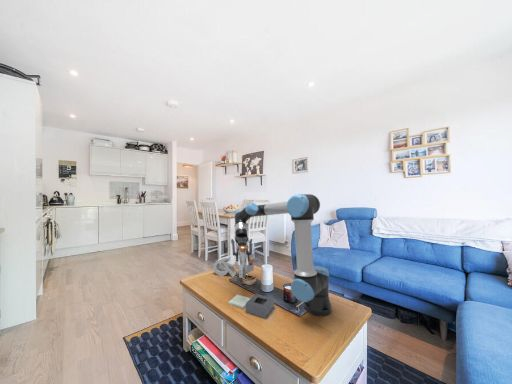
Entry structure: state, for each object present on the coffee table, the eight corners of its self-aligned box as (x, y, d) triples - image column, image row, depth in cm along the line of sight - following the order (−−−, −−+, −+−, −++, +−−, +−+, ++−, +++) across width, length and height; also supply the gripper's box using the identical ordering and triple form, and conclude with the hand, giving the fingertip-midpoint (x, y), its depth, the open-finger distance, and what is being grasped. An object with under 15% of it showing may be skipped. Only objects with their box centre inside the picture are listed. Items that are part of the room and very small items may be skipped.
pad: (251, 300, 126) (251, 298, 126) (243, 308, 117) (243, 306, 117) (237, 296, 131) (237, 294, 131) (228, 303, 122) (228, 302, 122)
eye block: (274, 307, 119) (274, 298, 119) (265, 318, 108) (266, 309, 108) (255, 302, 124) (255, 293, 124) (245, 312, 113) (245, 303, 113)
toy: (247, 282, 151) (248, 254, 151) (232, 275, 163) (233, 249, 163) (257, 278, 158) (258, 251, 158) (242, 271, 170) (242, 247, 170)
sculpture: (235, 277, 166) (240, 259, 165) (232, 280, 159) (237, 262, 159) (215, 269, 170) (219, 251, 169) (211, 272, 164) (216, 254, 163)
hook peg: (249, 275, 125) (250, 245, 125) (244, 279, 119) (245, 248, 119) (240, 273, 128) (241, 244, 127) (234, 277, 122) (235, 246, 122)
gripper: (253, 234, 140) (256, 268, 124) (227, 234, 137) (227, 269, 121) (254, 228, 134) (258, 262, 118) (228, 228, 132) (228, 263, 115)
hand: (243, 266), depth 120 cm, fingers closed on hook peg, 4 cm apart
